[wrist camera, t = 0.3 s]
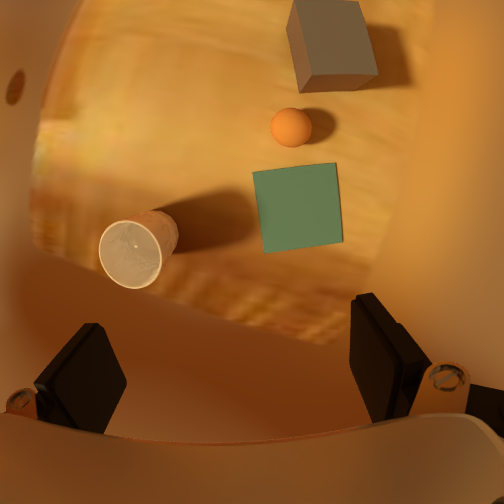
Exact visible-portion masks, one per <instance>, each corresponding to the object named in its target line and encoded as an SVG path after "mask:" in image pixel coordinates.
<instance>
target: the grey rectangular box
mask: <svg viewBox="0 0 504 504" xmlns="http://www.w3.org/2000/svg"><path fill="white" fill-rule="evenodd" d="M286 31H287V35H288V40H289V44H290V49H291V54H292V58H293V63H294V68H295V73H296V79H297V84H298V89H299V93H312V92H333V91H355V90H356V89H358V88H359V87H361V86H362V85H364V84H366V83H367V82H369V81H370V80H372V79H373V78H375V77H377V76H378V75H379V73H378V69H377V65H376V60H375V56H374V52H373V49H372V45H371V41H370V38H369V34H368V31H367V27H366V24H365V21H364V17H363V14H362V11H361V8H360V5H359V2H357V1H345V0H294V1H293V5H292V8H291V12H290V16H289V20H288V24H287V28H286Z"/></svg>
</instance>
